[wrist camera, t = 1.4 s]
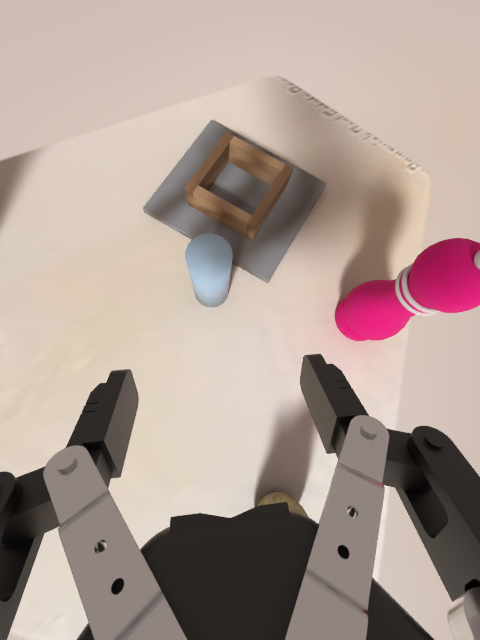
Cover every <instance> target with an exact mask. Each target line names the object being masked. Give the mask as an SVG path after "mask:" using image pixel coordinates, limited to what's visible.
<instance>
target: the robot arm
mask: <svg viewBox="0 0 480 640" xmlns="http://www.w3.org/2000/svg"><path fill="white" fill-rule="evenodd" d="M300 385H301V390H302V393H303V395H304V398H305V400H306V403H307V405H308V408H309V410H310V413H311V415H312V418H313V420H314V423H315V425H316V428H317V430H318V433H319V435H320V438H321V440H322V443H323V445H324V448H325V450H326V453H327V454H329V453H336V455H337V457H338V462H337V466H336V469H335V472H334V476H333V479H332V482H331V485H330V489H329V492H328V495H327V499H326V502H325V505H324V508H323V512H322V515H321V518H320V521H319V524H317V523H316V522H315V521H313V520H312V519H310V518H309V517H307V516H305V515H303V514H300V513H297V512H294V511H289V507H288V503H287V502H282V503H274V504H266V505H259V506H257V507H255V508H253V509H250V510H248V511H246V512H244V513H242V514H239V515H237V516H235V517H232V518H226V517H220V516H214V515H208V514H202V513H198V514H191V515H183V516H176V517H171V521H170V527H168V528H166V529H164V530H163V531H161V532H159V533H158V534H156V535H155V536H154V537H152V538H151V539H150V540H149V541H148V542H147V543H146V544H145V545H144V546H143V547H142V548H141V549H139V547H138V545H137V543H136V542H135V540H134V538H133V536H132V534H131V532H130V530H129V528H128V526H127V524H126V523H125V521H124V519H123V517H122V515H121V513H120V511H119V509H118V507H117V505H116V504H115V502H114V500H113V498H112V496H111V494H110V492H109V490H108V487H109V483H110V479H111V478H117V477H121V473H122V469H123V465H124V461H125V457H126V453H127V449H128V445H129V440H130V436H131V432H132V428H133V424H134V420H135V416H136V412H137V408H138V392H137V389H136V385H135V382H134V378H133V375H132V372H131V370H130V369H127V370H115V371H111V373H110V375H109V378H108V380H107V382H106V383H100V384H99V385H98V386H97V387H96V388H95V389H94V390H93V391H92V392H91V393H90V395H89V398H88V400H87V402H86V405H85V406H84V409H83V411H82V414H81V415H80V418H79V420H78V422H77V424H76V426H75V429H74V431H73V433H72V435H71V438H70V440H69V442H68V444H67V446H66V448H65V449H63V450H61V451H59V452H58V453H56V454H55V455H54V456H53V457H52V458H51V459H50V460H49V462H48V463H47V465H46V466H45V467H43V468H40V469H38V470H35V471H33V472H30V473H27V474H25V475H22V476H20V477H17V478H15V477H14V475H13V474H11V473H9V472H0V640H7V637H8V635H9V632H10V629H11V626H12V623H13V620H14V618H15V615H16V612H17V609H18V606H19V604H20V601H21V598H22V595H23V592H24V589H25V587H26V584H27V581H28V578H29V575H30V573H31V570H32V567H33V564H34V561H35V558H36V556H37V553H38V550H39V547H40V544H41V541H42V539H43V536H44V533H46V532H48V531H50V530H52V529H55V528H57V527H59V526H60V528H59V529H58V531H59V536H60V539H61V542H62V545H63V548H64V551H65V554H66V557H67V560H68V563H69V565H70V568H71V571H72V574H73V577H74V580H75V583H76V586H77V589H78V592H79V595H80V598H81V601H82V604H83V607H84V610H85V613H86V616H87V619H88V622H89V623H88V624H87V626H86V627H85V629H84V630H83V631H82V633H81V634H80V636H79V637H78V639H77V640H434V639H433V638H432V637H431V636H430V635H429V634H428V633H427V632H426V631H425V630H424V629H423V628H422V627H421V626H420V625H419V624H418V623H417V622H416V621H415V620H414V619H413V618H412V617H411V616H410V615H409V614H408V613H407V612H406V611H405V610H404V609H403V608H402V607H401V606H400V605H399V604H398V603H397V602H396V601H395V600H394V599H393V598H392V597H391V596H390V595H389V594H388V593H387V592H386V591H385V590H384V589H383V588H382V587H381V586H380V585H379V584H378V583H377V582H376V581H375V580H374V579H373V578H372V574H373V567H374V561H375V554H376V547H377V540H378V533H379V526H380V519H381V512H382V505H383V499H384V489H385V488H384V485H386V486H391V487H395V488H396V490H397V492H398V494H399V496H400V498H401V500H402V502H403V504H404V506H405V508H406V510H407V512H408V514H409V516H410V518H411V520H412V522H413V524H414V526H415V528H416V530H417V532H418V534H419V536H420V538H421V540H422V542H423V544H424V546H425V548H426V550H427V552H428V554H429V556H430V558H431V560H432V562H433V564H434V566H435V568H436V570H437V572H438V574H439V576H440V578H441V580H442V582H443V584H444V586H445V588H446V590H447V592H448V594H449V596H450V598H451V600H452V603H451V604H450V606H449V609H448V623H449V627H450V630H451V633H452V636H453V639H454V640H480V477H479V475H478V474H477V473H476V472H475V470H474V469H473V468H472V466H471V465H470V464H469V463H468V461H467V460H466V459H465V457H464V456H463V455H462V453H461V452H460V451H459V450H458V448H457V447H456V446H455V444H454V443H453V442H452V441H451V439H450V438H448V436H446V435H445V434H444V433H442V432H441V431H439V430H437V429H435V428H432V427H428V426H419V427H416V428H415V429H414V430H413V432H412V434H411V433H405V432H400V431H394V430H390V429H387V428H386V427H385V426H384V425H383V424H382V423H381V422H380V421H378V420H377V419H375V418H373V417H370V416H369V415H368V414H367V412H366V410H365V409H364V407H363V405H362V404H361V402H360V400H359V399H358V397H357V396H356V394H355V392H354V391H353V389H352V388H351V386H350V384H349V382H348V381H347V379H346V378H345V376H344V374H343V373H342V371H341V370H340V369H338V368H337V367H336V366H335V365H333V364H326V362H325V360H324V358H323V357H322V355H321V354H313V355H304V357H303V363H302V370H301V376H300Z"/></svg>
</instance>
